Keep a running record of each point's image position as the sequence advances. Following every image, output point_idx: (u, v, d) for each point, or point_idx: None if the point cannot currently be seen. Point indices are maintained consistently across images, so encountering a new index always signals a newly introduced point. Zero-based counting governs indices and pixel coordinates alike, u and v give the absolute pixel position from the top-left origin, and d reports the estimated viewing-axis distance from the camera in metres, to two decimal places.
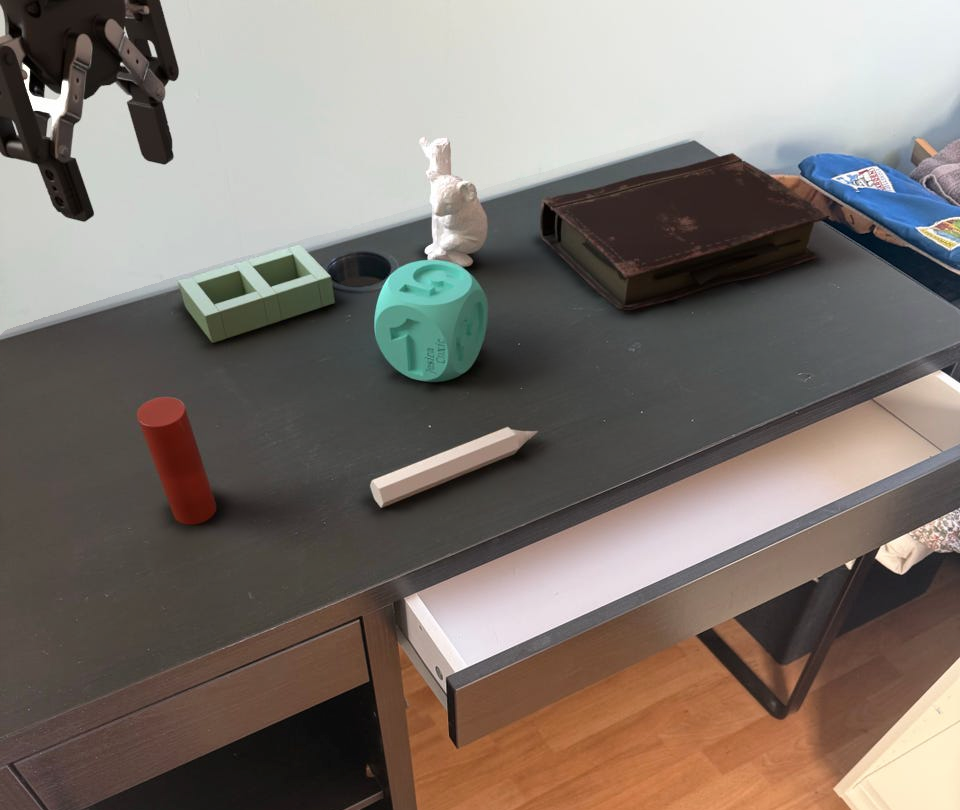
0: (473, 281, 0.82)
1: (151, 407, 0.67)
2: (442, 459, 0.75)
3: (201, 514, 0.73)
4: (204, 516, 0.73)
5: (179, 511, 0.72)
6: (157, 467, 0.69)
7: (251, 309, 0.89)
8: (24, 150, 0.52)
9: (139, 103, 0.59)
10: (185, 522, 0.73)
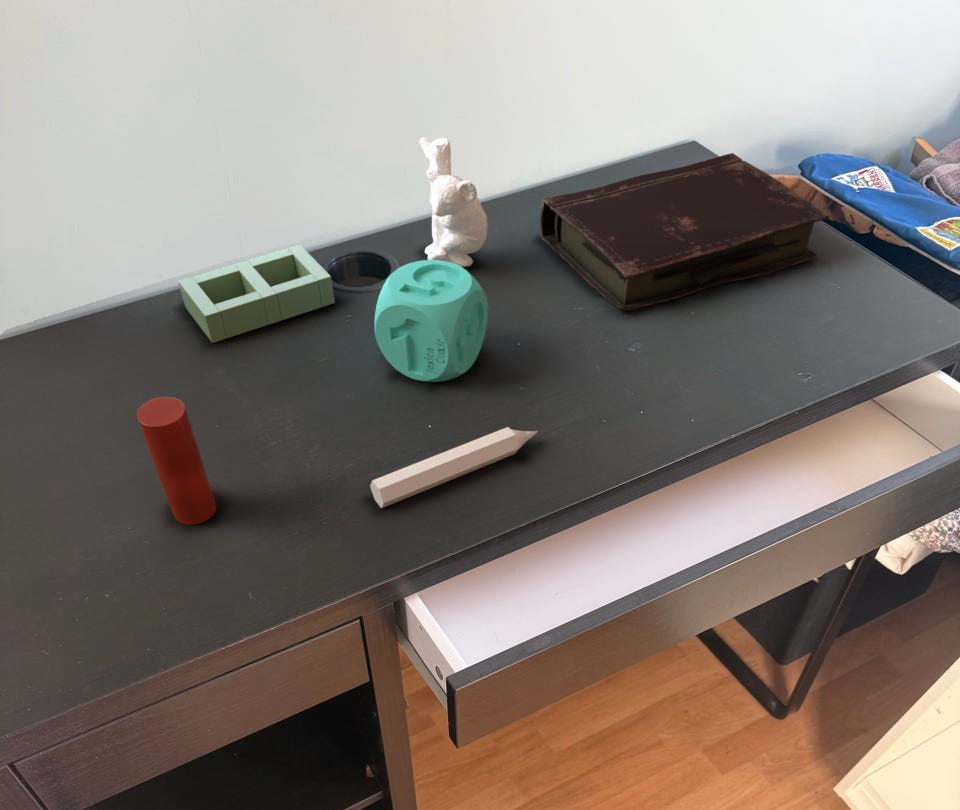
0: (473, 281, 0.82)
1: (151, 407, 0.67)
2: (442, 459, 0.75)
3: (201, 514, 0.73)
4: (204, 516, 0.73)
5: (179, 511, 0.72)
6: (157, 467, 0.69)
7: (251, 309, 0.89)
8: None
9: None
10: (185, 522, 0.73)
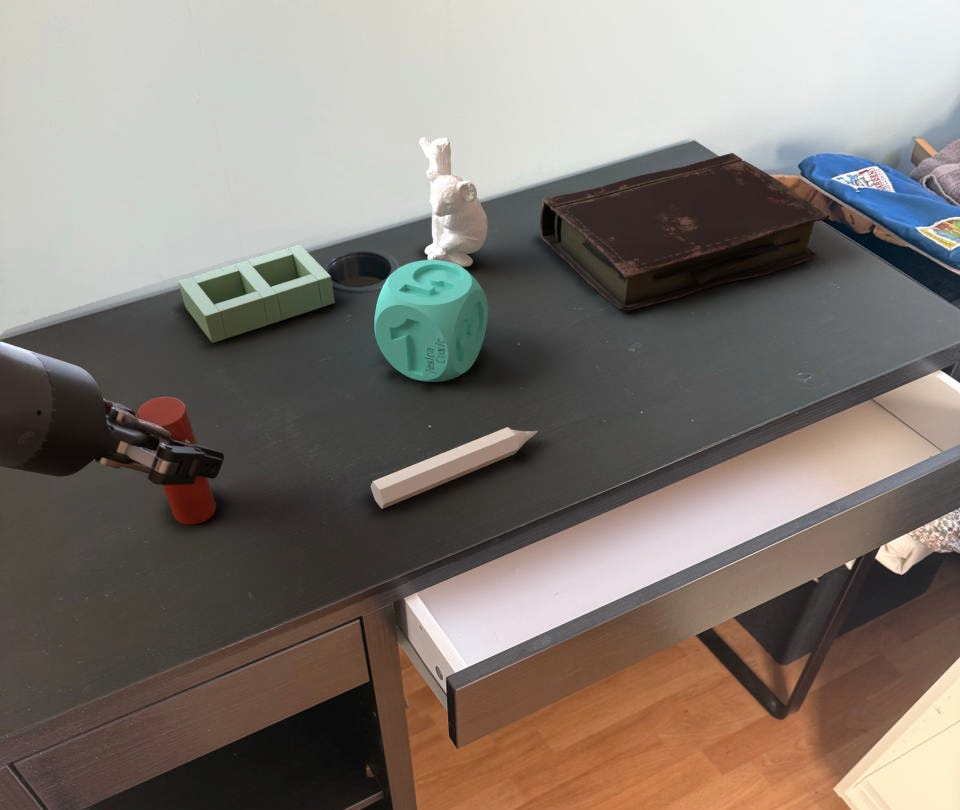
0: (473, 281, 0.82)
1: (151, 407, 0.67)
2: (442, 460, 0.75)
3: (201, 514, 0.73)
4: (204, 516, 0.73)
5: (178, 511, 0.72)
6: None
7: (251, 309, 0.89)
8: None
9: None
10: (185, 522, 0.73)
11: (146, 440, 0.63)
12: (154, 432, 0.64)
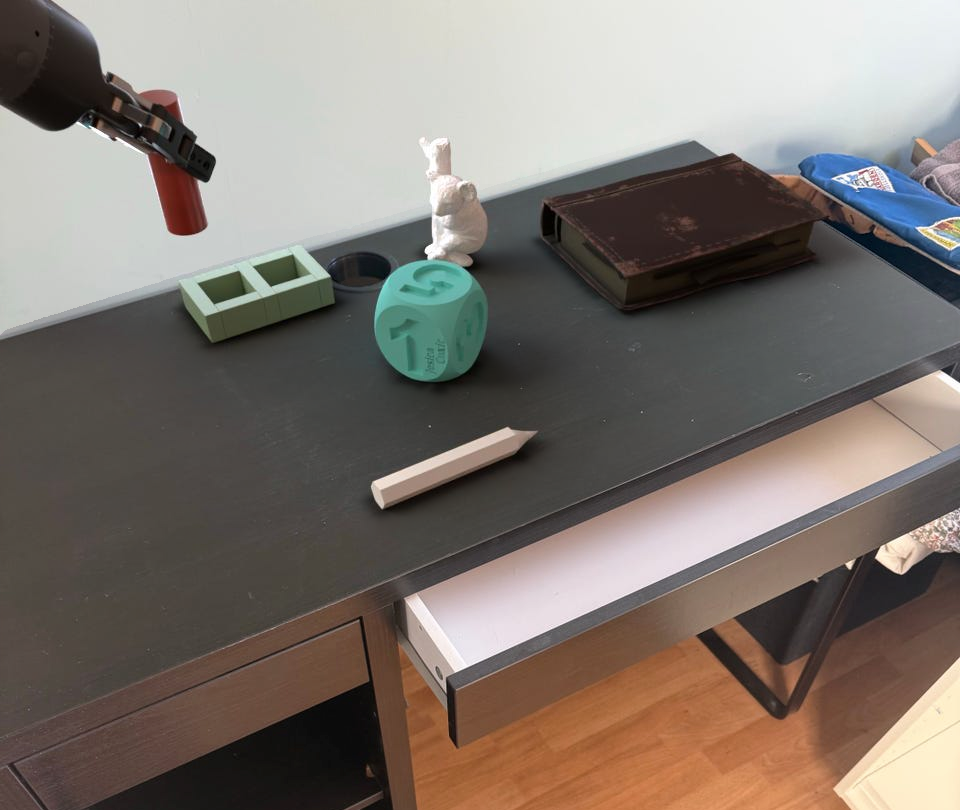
0: (473, 281, 0.82)
1: (145, 96, 0.70)
2: (443, 460, 0.75)
3: (193, 224, 0.76)
4: (196, 227, 0.76)
5: (172, 219, 0.75)
6: (151, 163, 0.72)
7: (251, 309, 0.89)
8: None
9: None
10: (178, 233, 0.76)
11: None
12: (148, 107, 0.67)
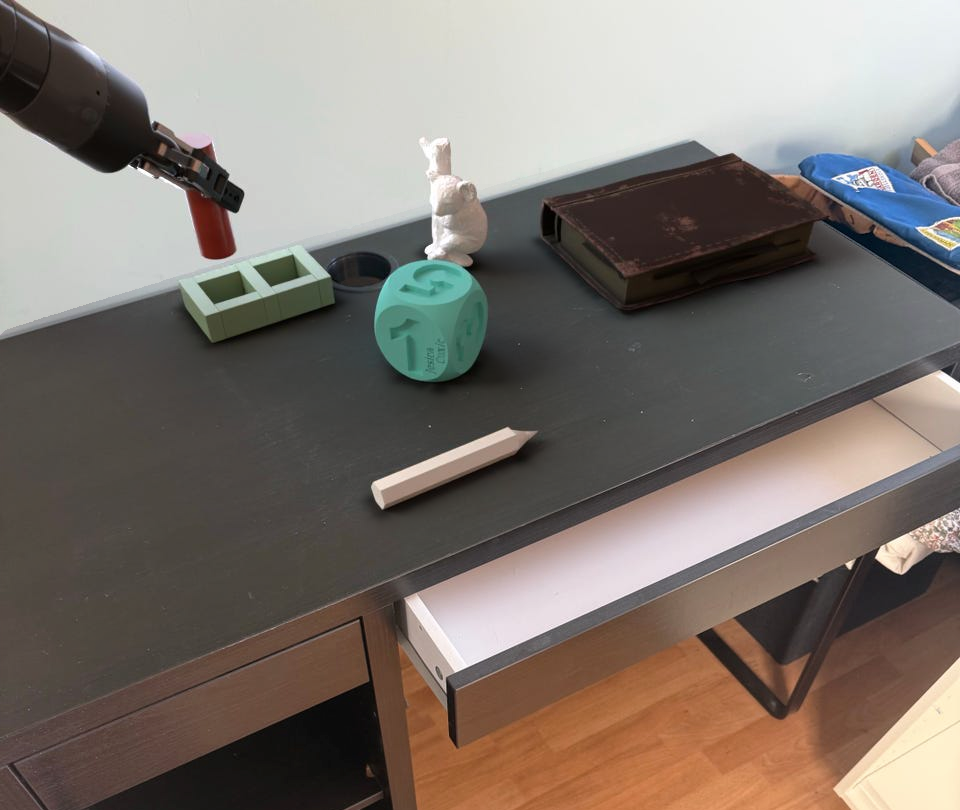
0: (473, 281, 0.82)
1: (183, 139, 0.79)
2: (443, 460, 0.75)
3: (224, 249, 0.85)
4: (227, 252, 0.86)
5: (205, 245, 0.85)
6: (188, 197, 0.82)
7: (251, 309, 0.89)
8: None
9: None
10: (210, 257, 0.86)
11: None
12: (187, 149, 0.76)
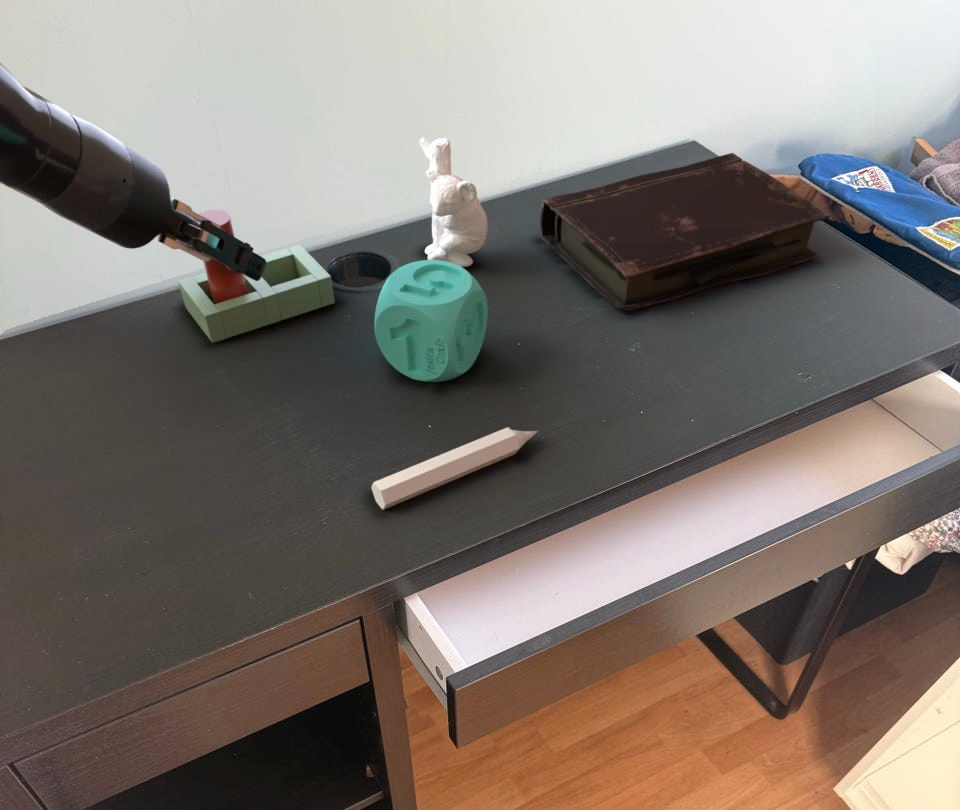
0: (473, 281, 0.82)
1: (203, 215, 0.85)
2: (443, 460, 0.75)
3: None
4: None
5: None
6: (207, 268, 0.87)
7: (251, 309, 0.89)
8: None
9: None
10: None
11: (199, 227, 0.81)
12: None
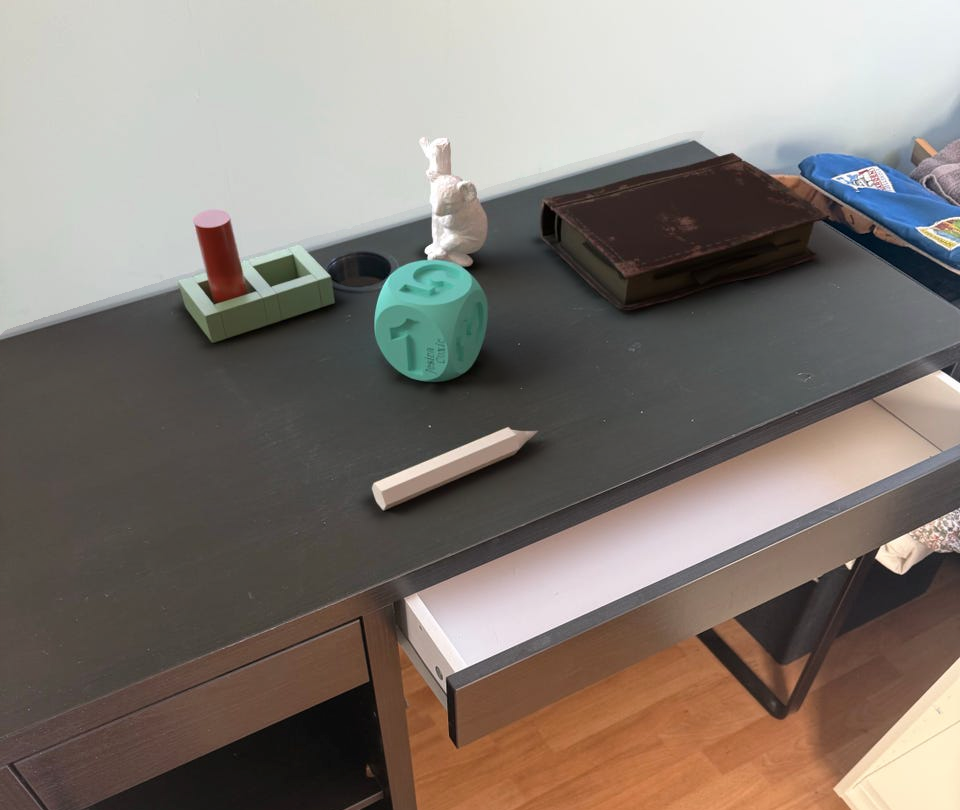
0: (473, 281, 0.82)
1: (203, 215, 0.85)
2: (443, 460, 0.75)
3: None
4: None
5: None
6: (207, 268, 0.87)
7: (251, 309, 0.89)
8: None
9: None
10: None
11: None
12: None
